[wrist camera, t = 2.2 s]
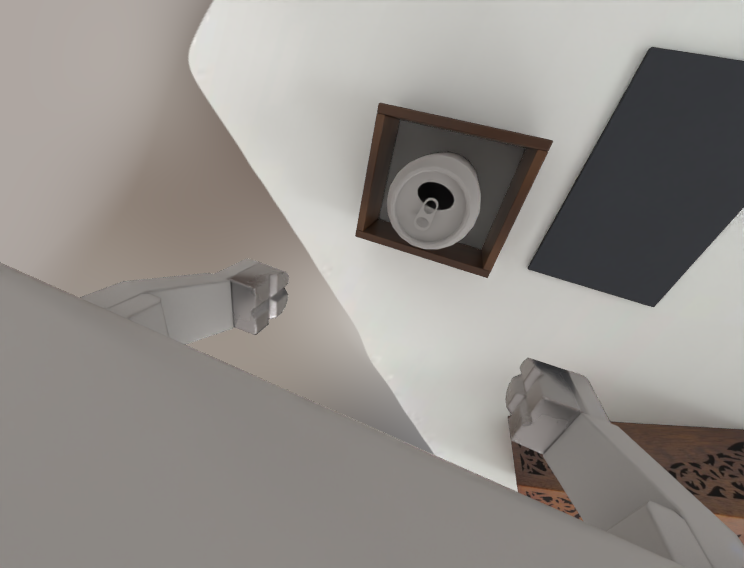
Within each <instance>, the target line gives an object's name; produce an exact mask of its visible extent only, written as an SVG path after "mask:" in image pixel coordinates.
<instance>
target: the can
mask: <svg viewBox="0 0 744 568" xmlns="http://www.w3.org/2000/svg"><path fill="white" fill-rule="evenodd" d="M480 202H481V193H480V187H479V181H478V177H477V173H476V170H475V168H474V167H473V166H472V164H471V163H470V161H469V160H467V159H466V158H464V157H463V156H462V155H460V154H457V153H453V152H449V151H447V152H437V153H433V154H430V155H426V156H423V157H420V158H418V159H416V160H414V161H411V162H409V163H408V164H407V165H406V166H405V167H404V168H403V169H401V170H400V171H399V172H398V173H397V175H396V177H395V178H394V180H393V182H392V184H391V185H390V188H389V193H388V197H387V211H388V216H389V219H390V221H391V224H392V227H393V228H394V229H395V231H396V232H397V233H398V235H399V236H400V237H401V238H402V239H404V240H405V241H407V242H408V243H409V244H411V245H413V246H416V247H419V248H422V249H441V248H445V247H448V246H452V245H453V244H455V243H456V242H458V241H459V240H461V239H463V238H464V237H465V236H466V235H467V233H468V232H469V231H470V230H471V229H472V227H473V226H474V224H475V222H476V219H477V217H478V215H479V212H480Z"/></svg>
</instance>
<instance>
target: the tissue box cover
mask: <svg viewBox="0 0 744 568" xmlns="http://www.w3.org/2000/svg"><path fill="white" fill-rule="evenodd" d="M510 417H511V416H508V419H509V418H510ZM610 423H611V424H614V425H616V426H618V427H619V428H620V429H621V430H622V431H624V432H625V433H626V434H627V435H628V436H629V437H630V438H631V439H632V440H633V441H635V442H636V443H637V444H638V445H639V446H640V447H641V448H642V449H643V450H644V451H645V452H647V453H648V454H649V455H650V456H651V457H652V458H653V459H654V460H655V461H656V462H657V463H659V464H660V465H661V466H662V467H663V468H664V469H665V470H666V471H667V472H668V473H669V474H671V475H672V476H673V477H674V478H675V479H676V480H677V481H678V482H679V483H680V484H681V485H683V486H684V487H685V488H686V489H687V490H688V491H689V492H690V493H691V494H692V495H693V496H695V497H696V498H697V499H698V500H699V501H700V502H701V503H702V504H703V505H704V506H705V507H707V508H708V509H709V510H710V511H711V512H712V513H713V514H714V515H715V516H716V517H717V518H719V519H720V520H721V521H722V522H723V523H724V524H725V525H726V526H727V527H728V528H730V529H731V530H732V531H733V532H734V533H735V534H736V535H737V536H738V538H739V539H740V541H741V542H742V544H743V545H744V430H739V429H722V428H704V427H687V426H670V425H652V424H635V423H617V422H610ZM511 443H512V450H513V458H514V466H515V474H516V481H517V488H518V493H521V494H523V495H525V496H528V497H530V498H532V499H534V500H537V501H539V502H541V503H543V504H546V505H548V506H550V507H552V508H555V509H557V510H559V511H561V512H564V513H566V514H568V515H571V516H573V517H575V518H577V519H580V520H582V521H583V519H582V518H581V516H580V515H579V513H578V511H577V510H576V508H575V507H574V505H573V503H572V502H571V500H570V499H569V497H568V496H567V494H566V492H565V491H564V489H563V488H562V486H561V484H560V483H559V481H558V480H557V478H556V476H555V475H554V473H553V472H552V470H551V469H550V467H549V465H548V464H547V462H546V461H545V459H544V457H543V454H541V453H538V452H536V451H534V450H532V449H529V448H527V447H525V446H522V445H520V444H518V443H516V442H513V441H511Z"/></svg>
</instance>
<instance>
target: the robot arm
mask: <svg viewBox="0 0 744 568" xmlns="http://www.w3.org/2000/svg"><path fill="white" fill-rule="evenodd" d="M288 277H289V276H288V274H287V273H286V272H285V271H282V270H280V269H277V268H274V267H272V266H269V265H266V264H264V263H261V262H259V261H256V260H253V259H245V260H243V261H240V262H238V263H236V264H234V265H232V266H230V267H227V268H225V269H223V270H221V271H219V272H217V273H215V274H211V273H203V274H193V275H183V276H172V277H163V278H152V279H142V280H132V281H123V282H120V283H117V284H115V285H112V286H109V287H106V288H104V289H101V290H99V291H96V292H93V293H90V294H88V295H85V296H82V297H80V298H79V297H77V296H75V295H73V294H70V293H68V292H66V291H64V290H61V289H59V288H57V287H54V286H52V285H50V284H48V283H46V282H43V281H41V280H39V279H37V278H34V277H32V276H30V275H27V274H25V273H23V272H21V271H19V270H16V269H14V268H12V267H9V266H7V265H5V264H3V263H1V262H0V568H744V545H743V544H742V542H741V541H740V539H739V538H738V536H737V535H736V534H735V533H734V532H733V531H732V530H731V529H730V528H728V527H727V526H726V525H725V524H724V523H723V522H722V521H721V520H720V519H719V518H717V517H716V516H715V515H714V514H713V513H712V512H711V511H710V510H709V509H708V508H707V507H705V506H704V505H703V504H702V503H701V502H700V501H699V500H698V499H697V498H696V497H695V496H693V495H692V494H691V493H690V492H689V491H688V490H687V489H686V488H685V487H684V486H683V485H681V484H680V483H679V482H678V481H677V480H676V479H675V478H674V477H673V476H672V475H671V474H669V473H668V472H667V471H666V470H665V469H664V468H663V467H662V466H661V465H660V464H659V463H657V462H656V461H655V460H654V459H653V458H652V457H651V456H650V455H649V454H648V453H647V452H645V451H644V450H643V449H642V448H641V447H640V446H639V445H638V444H637V443H636V442H635V441H633V440H632V439H631V438H630V437H629V436H628V435H627V434H626V433H625V432H624V431H622V430H621V429H620V428H619V427H618V426H616V425H614V424H611V423H610V421H609V419H608V417H607V415H606V413H605V411H604V409H603V407H602V405H601V403H600V401H599V399H598V397H597V396H596V394H595V392H594V390H593V388H592V386H591V384H590V382H589V380H588V379H587V378H586V377H585V376H584V375H580V374H577V373H574V372H571V371H568V370H565V369H561V368H558V367H555V366H552V365H549V364H546V363H543V362H540V361H537V360H534V359H531V358H527V359H526V360H524V361H523V363H522V364H521V366H520V370H521V374H520V375H518V376H515V377H513V378H512V380H511V382H510V383H509V385H508V389H507V392H506V407H507V409H508V410H509V411H510V413H511V414H512V415H511V417H510V418H509V419H508V423H509V430H510V437H511V441H513V442H516V443H518V444H520V445H522V446H525V447H527V448H529V449H532V450H534V451H536V452H538V453H541V454H543V457H544V459H545V461H546V462H547V464H548V465H549V467H550V469H551V470H552V472H553V473H554V475H555V476H556V478H557V480H558V481H559V483H560V484H561V486H562V488H563V489H564V491H565V492H566V494H567V496H568V497H569V499H570V500H571V502H572V503H573V505H574V507H575V508H576V510H577V511H578V513H579V515H580V516H581V518H582V519H583V521H582V520H580V519H577V518H575V517H573V516H571V515H568V514H566V513H564V512H561V511H559V510H557V509H555V508H552V507H550V506H548V505H546V504H543V503H541V502H539V501H537V500H534V499H532V498H530V497H528V496H525V495H523V494H521V493H518V492H516V491H514V490H512V489H509V488H507V487H505V486H503V485H500V484H498V483H496V482H494V481H491V480H489V479H487V478H485V477H482V476H480V475H478V474H476V473H473V472H471V471H469V470H467V469H464V468H462V467H460V466H458V465H455V464H453V463H451V462H449V461H446V460H444V459H442V458H440V457H438V456H435V455H433V454H430V453H428V452H426V451H424V450H422V449H420V448H417V447H415V446H413V445H410V444H408V443H406V442H404V441H401V440H399V439H397V438H395V437H393V436H390V435H388V434H386V433H384V432H381V431H379V430H377V429H375V428H372V427H370V426H368V425H366V424H363V423H361V422H359V421H356V420H354V419H352V418H349V417H348V416H345V415H343V414H341V413H338V412H336V411H334V410H332V409H329V408H327V407H325V406H323V405H320V404H318V403H316V402H314V401H311V400H309V399H307V398H305V397H302V396H300V395H298V394H296V393H293V392H291V391H289V390H287V389H284V388H282V387H280V386H278V385H275V384H273V383H271V382H268V381H266V380H264V379H262V378H259V377H257V376H255V375H253V374H250V373H248V372H246V371H244V370H241V369H239V368H237V367H235V366H232V365H230V364H228V363H226V362H223V361H221V360H219V359H217V358H214V357H212V356H210V355H208V354H205V353H203V352H201V351H198V350H196V349H194V348H192V347H190V346H187V345H186V344H189V343H192V342H194V341H198V340H201V339H203V338H207V337H209V336H212V335H215V334H218V333H221V332H224V331H227V330H230V329H233V328H234V327H235V328H238V329H241V330H243V331H245V332H248V333H251V334H253V335H257V334H258V333H259V332H260V331H261V330H263V329H264V328H265V327H266V326H267V325H268V324H269V319H273V318H276V317H278V316H279V315H280V314H281V313H282V312H283V310H284V308H285V306H286V304H287V300H288V293H287V291H286V290H285V288H284V287H285V286H286V285H287V284H288Z"/></svg>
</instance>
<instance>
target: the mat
mask: <svg viewBox="0 0 744 568" xmlns="http://www.w3.org/2000/svg"><path fill="white" fill-rule="evenodd" d="M743 207H744V61H741V60H734V59H728V58H721V57H715V56H708V55H701V54H695V53H688V52H682V51H675V50H668V49H662V48H655V47H651V48H650V49H649V50H648V52H647V54H646V55H645V57H644V59H643V61H642V63H641V64H640V66H639V68H638V70H637V72H636V74H635V75H634V77H633V79H632V81H631V83H630V84H629V86H628V88H627V90H626V92H625V93H624V95H623V97H622V99H621V101H620V102H619V104H618V106H617V108H616V110H615V111H614V113H613V115H612V117H611V119H610V120H609V122H608V124H607V126H606V128H605V129H604V131H603V133H602V135H601V137H600V138H599V140H598V142H597V144H596V146H595V147H594V149H593V151H592V153H591V155H590V156H589V158H588V160H587V162H586V164H585V165H584V167H583V169H582V171H581V173H580V175H579V176H578V178H577V180H576V182H575V184H574V185H573V187H572V189H571V191H570V193H569V194H568V196H567V198H566V200H565V202H564V203H563V205H562V207H561V209H560V211H559V212H558V214H557V216H556V218H555V220H554V221H553V223H552V225H551V227H550V229H549V230H548V232H547V234H546V236H545V238H544V239H543V241H542V243H541V245H540V247H539V248H538V250H537V252H536V254H535V256H534V257H533V259H532V261H531V263H530V265H529V266H528V269H529V270H532V271H535V272H539V273H542V274H545V275H549V276H552V277H555V278H559V279H562V280H565V281H568V282H572V283H575V284H578V285H582V286H585V287H588V288H592V289H595V290H598V291H601V292H605V293H608V294H611V295H615V296H618V297H621V298H625V299H628V300H631V301H634V302H638V303H641V304H644V305H648V306H651V307H655V305H656V304H657V303H658V302H659V301H660V300H661V299H662V298H663V296H664V295H665V294H666V293H667V292H668V291H669V290H670V289H671V288H672V286H673V285H674V284H675V283H676V282H677V281H678V280H679V279H680V278H681V276H682V275H683V274H684V273H685V272H686V271H687V270H688V269H689V267H690V266H691V265H692V264H693V263H694V262H695V261H696V260H697V259H698V257H699V256H700V255H701V254H702V253H703V252H704V251H705V250H706V249H707V247H708V246H709V245H710V244H711V243H712V242H713V241H714V240H715V239H716V237H717V236H718V235H719V234H720V233H721V232H722V231H723V230H724V228H725V227H726V226H727V225H728V224H729V223H730V222H731V221H732V220H733V218H734V217H735V216H736V215H737V214H738V213H739V212H740V211H741V210H742V208H743Z"/></svg>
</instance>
